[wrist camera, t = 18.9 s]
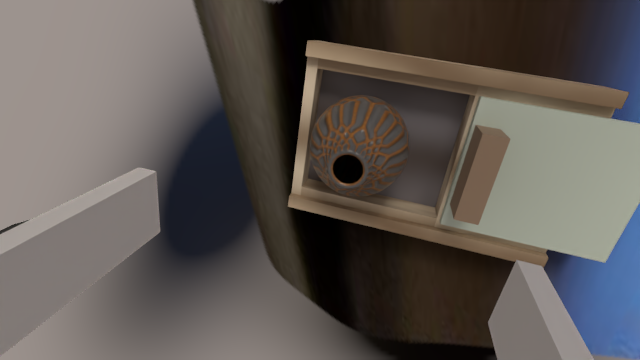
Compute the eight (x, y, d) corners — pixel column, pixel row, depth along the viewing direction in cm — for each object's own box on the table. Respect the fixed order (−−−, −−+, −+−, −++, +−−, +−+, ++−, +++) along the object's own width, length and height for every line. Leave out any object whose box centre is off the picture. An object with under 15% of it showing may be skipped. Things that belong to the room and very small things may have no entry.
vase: (357, 188, 30) (338, 242, 22) (306, 124, 29) (267, 156, 21) (427, 142, 27) (434, 184, 19) (374, 70, 26) (358, 83, 18)
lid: (479, 95, 23) (489, 103, 20) (673, 129, 21) (713, 142, 18) (439, 220, 27) (443, 241, 24) (600, 257, 25) (624, 285, 22)
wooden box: (318, 40, 27) (307, 40, 24) (603, 86, 23) (629, 92, 21) (298, 192, 32) (288, 206, 29) (530, 246, 29) (543, 268, 26)
